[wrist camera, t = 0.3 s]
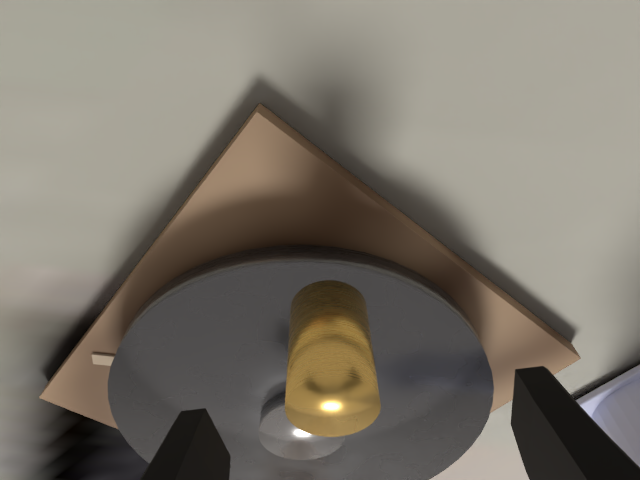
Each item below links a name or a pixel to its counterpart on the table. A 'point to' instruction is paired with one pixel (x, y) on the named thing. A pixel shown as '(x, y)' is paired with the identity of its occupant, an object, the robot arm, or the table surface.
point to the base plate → (298, 229)
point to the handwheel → (306, 366)
